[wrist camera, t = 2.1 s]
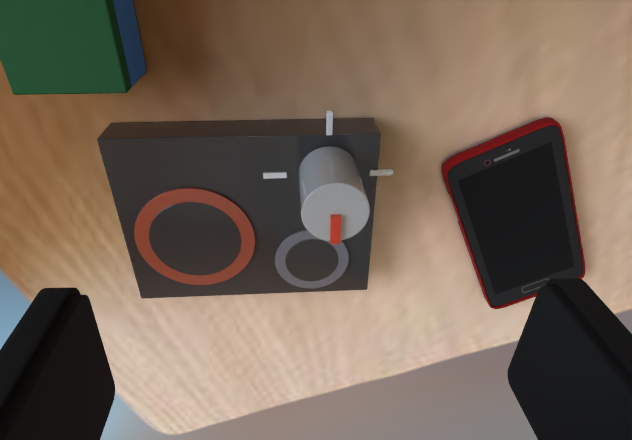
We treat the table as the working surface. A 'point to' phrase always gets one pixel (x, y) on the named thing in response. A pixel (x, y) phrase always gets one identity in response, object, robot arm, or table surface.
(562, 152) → the cell phone
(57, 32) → the sponge
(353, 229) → the hob knob
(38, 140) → the table surface
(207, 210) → the burner rings
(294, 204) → the hob
